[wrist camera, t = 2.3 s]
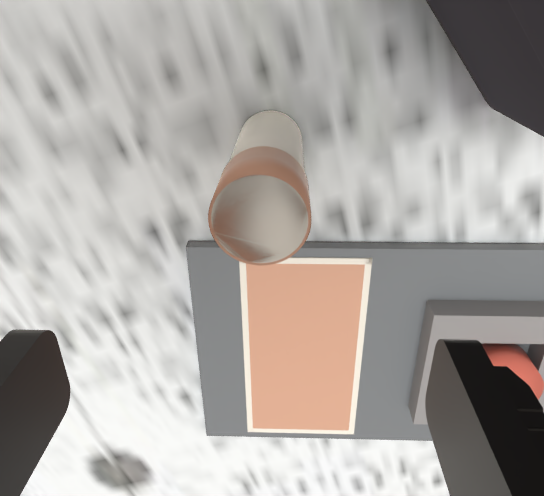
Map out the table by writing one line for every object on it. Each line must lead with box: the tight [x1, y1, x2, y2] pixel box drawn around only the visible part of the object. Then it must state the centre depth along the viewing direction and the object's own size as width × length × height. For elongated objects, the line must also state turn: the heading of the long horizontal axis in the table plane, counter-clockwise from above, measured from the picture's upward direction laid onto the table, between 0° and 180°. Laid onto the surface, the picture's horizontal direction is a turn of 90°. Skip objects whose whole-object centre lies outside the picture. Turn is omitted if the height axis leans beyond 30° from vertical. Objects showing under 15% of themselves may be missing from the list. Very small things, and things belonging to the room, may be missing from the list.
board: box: [186, 241, 544, 441], centre depth 30 cm, size 24×16×2 cm, turn 91°
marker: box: [208, 110, 311, 266], centre depth 21 cm, size 4×4×10 cm
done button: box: [482, 343, 544, 400], centre depth 29 cm, size 4×4×2 cm
